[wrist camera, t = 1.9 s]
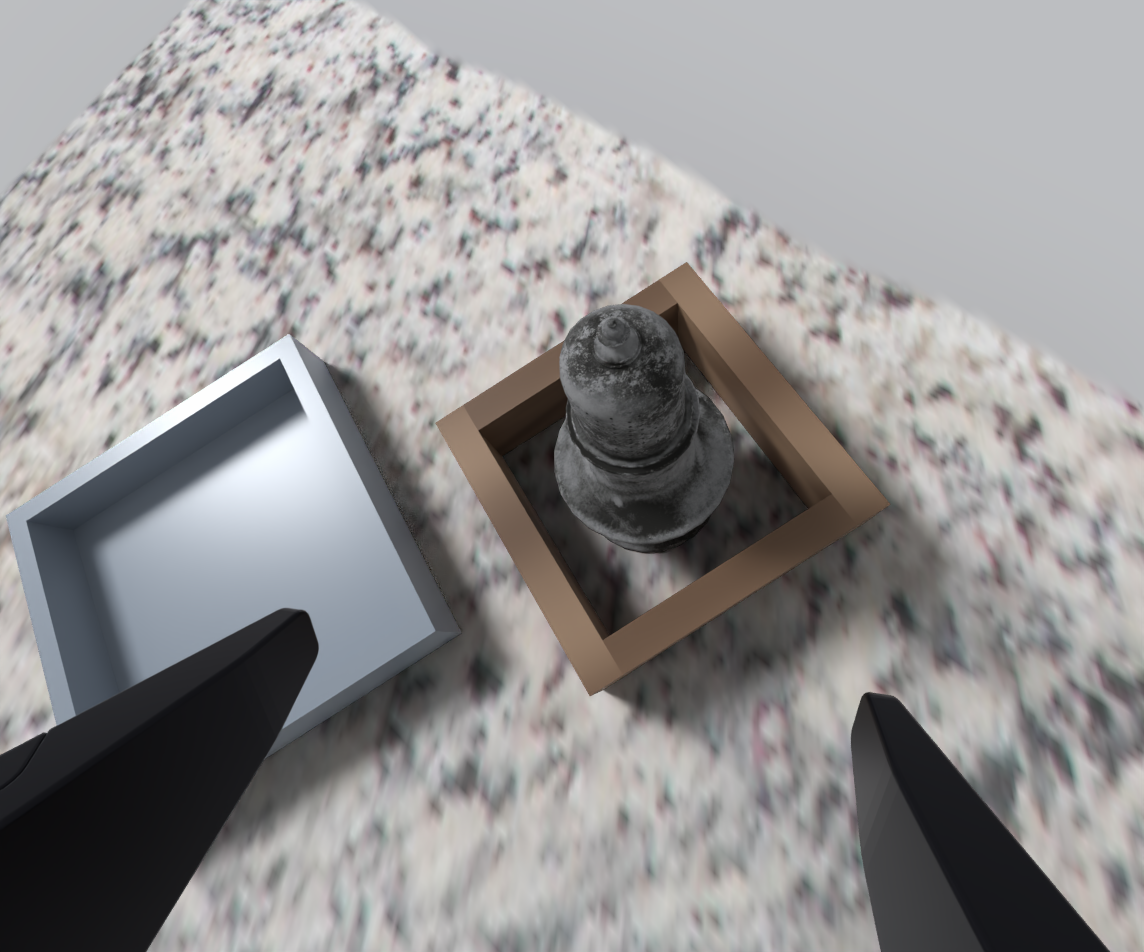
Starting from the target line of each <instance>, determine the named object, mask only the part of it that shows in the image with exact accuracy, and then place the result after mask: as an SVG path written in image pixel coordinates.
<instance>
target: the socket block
mask: <svg viewBox="0 0 1144 952" xmlns="http://www.w3.org/2000/svg"><path fill="white" fill-rule="evenodd" d="M622 304H628V305H636V306H641V307H643V308H646V309H648V310H651V311H654V312H655V313H656V314H658V315H659V316H660V317H662V318H663V319H665V320H666V321H667V323H668V324H669V325H670V326H671V328H672V329H673V330H674V331H675V333H676V335H677V337H678V339H679V341H680V344H681V346H682V348H683V350H684V351H685V352H686V353H687V355H688V356H689V357H690V359H691V360H692V361H693V362H694V364H695V365H696V366H697V368H698V369H699V370H700V371H701V373H702V374H703V375H704V376H705V378H706V379H707V380H708V382H709V383H710V384H711V385H712V387H713V388H714V389H715V391H716V392H717V393H718V394H719V396H720V397H721V398H722V399H723V401H724V402H725V403H726V405H727V406H728V407H729V408H730V410H731V411H732V412H733V413H734V415H735V416H736V417H737V419H738V420H739V421H740V422H741V424H742V425H743V426H744V428H745V429H746V430H747V431H748V433H749V434H750V435H751V436H752V438H753V439H754V440H755V442H756V443H757V444H758V445H759V447H760V448H761V449H762V451H763V452H764V453H765V454H766V456H767V457H768V458H769V459H770V461H771V462H772V463H773V465H774V466H775V467H776V468H777V470H778V471H779V472H780V473H781V475H782V476H783V477H784V479H785V480H786V481H787V482H788V484H789V485H790V486H791V488H792V489H793V490H794V491H795V493H796V494H797V495H798V496H799V498H800V499H801V500H802V502H803V503H804V504H805V505H806V507H807V508H808V509H807V510H806V511H804V512H803V513H801V514H799V515H798V516H796V517H795V518H793V519H792V520H790V521H789V522H787V523H785V524H784V525H782V526H781V527H779V528H778V529H776V530H774V531H773V532H771V533H770V534H768V535H767V536H765V537H763V538H762V539H760V540H759V541H757V542H756V543H754V544H753V545H751V546H749V547H748V548H746V549H745V550H743V551H742V552H740V553H738V554H737V555H735V556H734V557H732V558H731V559H729V560H727V561H726V562H724V563H723V564H721V565H720V566H718V567H717V568H715V569H713V570H712V571H710V572H709V573H707V574H706V575H704V576H702V577H701V578H699V579H698V580H696V581H695V582H693V583H691V584H690V585H688V586H687V587H685V588H684V589H682V590H681V591H679V592H677V593H676V594H674V595H673V596H671V597H670V598H668V599H666V600H665V601H663V602H662V603H660V604H659V605H657V606H655V607H654V608H652V609H651V610H649V611H648V612H646V613H645V614H643V615H641V616H640V617H638V618H637V619H635V620H634V621H632V622H630V623H629V624H627V625H626V626H624V627H623V628H621V629H619V630H618V631H616V632H615V633H613V634H612V635H609V634H608V632H607V630H606V629H605V627H604V625H603V624H602V622H601V620H600V619H599V617H598V615H597V614H596V612H595V610H594V609H593V607H592V605H591V604H590V602H589V600H588V599H587V597H586V595H585V594H584V592H583V590H582V589H581V587H580V585H579V584H578V582H577V580H576V579H575V577H574V575H573V574H572V572H571V570H570V569H569V567H568V565H567V564H566V562H565V560H564V559H563V557H562V555H561V554H560V552H559V550H558V549H557V547H556V545H555V544H554V542H553V540H552V539H551V537H550V535H549V534H548V532H547V530H546V528H545V527H544V525H543V523H542V522H541V520H540V518H539V517H538V515H537V513H536V512H535V510H534V508H533V507H532V505H531V503H530V502H529V500H528V498H527V497H526V495H525V493H524V492H523V490H522V488H521V487H520V485H519V483H518V482H517V480H516V478H515V477H514V475H513V473H512V472H511V470H510V468H509V467H508V465H507V463H506V462H505V460H504V458H503V457H502V456H503V455H505V454H506V453H508V452H510V451H511V450H513V449H514V448H516V447H517V446H519V445H521V444H522V443H524V442H525V441H527V440H528V439H530V438H531V437H533V436H535V435H536V434H538V433H539V432H541V431H542V430H544V429H546V428H547V427H549V426H550V425H552V424H553V423H555V422H556V421H558V420H560V419H561V418H563V417H564V416H566V405H567V401H568V398H567V396H566V394H565V392H564V389H563V385H562V382H561V379H560V365H559V361H560V353H561V349H562V345H563V342H564V341H563V342H561V343H560V344H558V345H556V346H555V347H553V348H552V349H550V350H549V351H547V352H545V353H544V354H542V355H541V356H539V357H538V358H536V359H535V360H533V361H531V362H530V363H528V364H527V365H525V366H524V367H522V368H521V369H519V370H517V371H516V372H514V373H513V374H511V375H510V376H508V377H506V378H505V379H503V380H502V381H500V382H499V383H497V384H496V385H494V386H492V387H491V388H489V389H488V390H486V391H485V392H483V393H481V394H480V395H478V396H477V397H475V398H474V399H472V400H471V401H469V402H467V403H466V404H464V405H463V406H461V407H460V408H458V409H456V410H455V411H453V412H452V413H450V414H449V415H447V416H446V417H444V418H442V419H441V420H439V421H438V422H436V425H437V427H438V428H439V430H440V432H441V434H442V435H443V437H444V439H445V441H446V442H447V444H448V446H449V448H450V450H451V451H452V453H453V455H454V457H455V458H456V460H457V462H458V464H459V466H460V467H461V469H462V471H463V473H464V474H465V476H466V478H467V480H468V481H469V483H470V485H471V487H472V489H473V490H474V492H475V494H476V496H477V497H478V499H479V501H480V503H481V504H482V506H483V508H484V510H485V512H486V513H487V515H488V517H489V519H490V520H491V522H492V524H493V526H494V527H495V529H496V531H497V533H498V535H499V536H500V538H501V540H502V542H503V543H504V545H505V547H506V549H507V550H508V552H509V554H510V556H511V558H512V559H513V561H514V563H515V565H516V566H517V568H518V570H519V572H520V573H521V575H522V577H523V579H524V581H525V582H526V584H527V586H528V588H529V589H530V591H531V593H532V595H533V596H534V598H535V600H536V602H537V604H538V605H539V607H540V609H541V611H542V612H543V614H544V616H545V618H546V619H547V621H548V623H549V625H550V627H551V628H552V630H553V632H554V634H555V635H556V637H557V639H558V641H559V642H560V644H561V646H562V648H563V650H564V651H565V653H566V655H567V657H568V658H569V660H570V662H571V664H572V665H573V667H574V669H575V671H576V673H577V674H578V676H579V678H580V680H581V681H582V683H583V685H584V687H585V688H586V690H587V692H588V694H589V696H592V695H594V694H596V693H598V692H600V691H602V690H604V689H605V688H607V687H608V686H610V685H612V684H613V683H615V682H616V681H618V680H619V679H621V678H623V677H624V676H626V675H627V674H629V673H630V672H632V671H634V670H635V669H637V668H638V667H640V666H641V665H643V664H645V663H646V662H648V661H649V660H651V659H652V658H654V657H655V656H657V655H659V654H660V653H662V652H663V651H665V650H666V649H668V648H670V647H671V646H673V645H674V644H676V643H677V642H679V641H681V640H682V639H684V638H685V637H687V636H688V635H690V634H691V633H693V632H695V631H696V630H698V629H699V628H701V627H702V626H704V625H706V624H707V623H709V622H710V621H712V620H713V619H715V618H717V617H718V616H720V615H721V614H723V613H724V612H726V611H728V610H729V609H731V608H732V607H734V606H735V605H737V604H738V603H740V602H742V601H743V600H745V599H746V598H748V597H749V596H751V595H753V594H754V593H756V592H757V591H759V590H760V589H762V588H764V587H765V586H767V585H768V584H770V583H771V582H773V581H774V580H776V579H778V578H779V577H781V576H782V575H784V574H785V573H787V572H789V571H790V570H792V569H793V568H795V567H796V566H798V565H800V564H801V563H803V562H804V561H806V560H807V559H809V558H811V557H812V556H814V555H815V554H817V553H818V552H820V551H821V550H823V549H825V548H826V547H828V546H829V545H831V544H832V543H834V542H836V541H837V540H839V539H840V538H842V537H843V536H845V535H847V534H848V533H850V532H851V531H853V530H854V529H856V528H857V527H859V526H861V525H862V524H864V523H865V522H866V521H868V520H869V519H871V518H872V517H873V516H875V515H876V514H878V513H879V512H880V511H882V510H883V509H885V508H886V507H888V506H889V505H890V503H889V502H888V501H887V500H886V498H885V497H884V496H883V495H882V494H881V492H880V491H879V490H878V489H877V488H876V486H875V485H874V484H873V483H872V482H871V480H870V479H869V478H868V477H867V476H866V475H865V473H864V472H863V471H862V470H861V469H860V467H859V466H858V465H857V464H856V463H855V461H854V460H853V459H852V458H851V457H850V456H849V454H848V453H847V452H846V451H845V450H844V448H843V447H842V446H841V445H840V444H839V442H838V441H837V440H836V439H835V438H834V437H833V435H832V434H831V433H830V432H829V431H828V429H827V428H826V427H825V426H824V425H823V423H822V422H821V421H820V420H819V419H818V417H817V416H816V415H815V414H814V413H813V412H812V410H811V409H810V408H809V407H808V406H807V404H806V403H805V402H804V401H803V400H802V398H801V397H800V396H799V395H798V394H797V393H796V391H795V390H794V389H793V388H792V387H791V385H790V384H789V383H788V382H787V381H786V379H785V378H784V377H783V376H782V375H781V374H780V372H779V371H778V370H777V369H776V368H775V366H774V365H773V364H772V363H771V362H770V360H769V359H768V358H767V357H766V356H765V354H764V353H763V352H762V351H761V350H760V349H759V347H758V346H757V345H756V344H755V343H754V341H753V340H752V339H751V338H750V337H749V335H748V334H747V333H746V332H745V331H744V330H743V328H742V327H741V326H740V325H739V324H738V322H737V321H736V320H735V319H734V318H733V316H732V315H731V314H730V313H729V312H728V311H727V309H726V308H725V307H724V306H723V305H722V303H721V302H720V301H719V300H718V299H717V297H716V296H715V295H714V294H713V293H712V291H711V290H710V289H709V288H708V287H707V286H706V284H705V283H704V282H703V281H702V280H701V278H700V277H699V276H698V275H697V274H696V272H695V271H694V270H693V269H692V268H691V267H690V265H689V264H688V263H687V262H686V263H684V264H683V265H681V266H680V267H678V268H677V269H675V270H674V271H672V272H670V273H669V274H667V275H666V276H664V277H663V278H661V279H659V280H658V281H656V282H655V283H653V284H652V285H650V286H649V287H647V288H645V289H644V290H642V291H641V292H639V293H638V294H636V295H635V296H633V297H631V298H630V299H628V300H627V301H625V302H624V303H622Z"/></svg>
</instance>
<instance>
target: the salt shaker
mask: <svg viewBox="0 0 1144 952" xmlns="http://www.w3.org/2000/svg"><path fill="white" fill-rule="evenodd" d="M559 365H560V379H561V382H562V385H563V389H564V392H565V394H566V396H567V398H568V401H567V405H566V419H565V421H564V423H563V425H562V427H561V428H560V430H559V434H558V438H557V442H556V446H555V450H554V473H555V476H556V480H557V483H558V487H559V490H560V493H561V495H562V497H563V498H564V500H565V502H566V503H567V505H568V506H569V508H570V510H571V511H572V513H573V514H574V515H575V516H576V517H577V518H578V519H580V520H581V521H582V522H583V523H584V524H585V525H586V526H587V527H588V528H589V529H591V530H593V531H595V532H597V533H599V534H601V535H603V536H604V537H605V538H607V539H608V540H609V541H611V542H613V543H615V544H617V545H619V546H621V547H623V548H625V549H630V550H635V551H639V552H657V551H664V550H667V549H670V548H673V547H676V546H679V545H681V544H683V543H684V542H686V541H687V540H689V539H690V538H692V537H693V536H695V535H696V534H697V533H698V532H699V531H700V529H701V528H702V527H703V526H704V525H705V524H706V523H707V522H708V520H709V518H710V516H711V513H712V512H713V511H714V510H715V509H716V508H717V507H718V505H719V504H720V502H721V500H722V498H723V496H724V494H725V492H726V490H727V488H728V486H729V484H730V480H731V475H732V469H733V464H734V453H733V443H732V436H731V434H730V431H729V429H728V426H727V424H726V421H725V419H724V416H723V415H722V414H721V412H720V411H719V410H718V408H717V407H716V406H715V405H714V403H713V402H712V401H711V399H710V398H709V397H707V396H706V395H705V394H703V393H702V392H701V391H699V390H698V389H697V388H695V387H694V385H693V382H692V381H691V380H690V378H689V377H688V376H687V374H686V373H685V360H684V351H683V349H682V346H681V344H680V341H679V339H678V337H677V335H676V333H675V331H674V330H673V329H672V328H671V326H670V325H669V324H668V323H667V321H666V320H665V319H663V318H662V317H660V316H659V315H658V314H656V313H655V312H654V311H651V310H648V309H646V308H643V307H641V306H636V305H628V304H619V305H610V306H606V307H603V308H600V309H597V310H595V311H593V312H591V313H589V314H588V315H586V316H585V317H583V318H582V319H580V320H579V321H578V322H577V323H576V325H575V326H574V327H573V328H572V329H571V330H570V331H569V333H568V335H567V337H566V339H565V340H564V342H563V345H562V349H561V353H560V361H559Z"/></svg>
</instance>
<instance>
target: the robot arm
mask: <svg viewBox="0 0 1144 952" xmlns="http://www.w3.org/2000/svg"><path fill="white" fill-rule="evenodd" d="M318 651H319V643H318V640H317V637H316V634H315V630H314V627H313V624H312V621H311V618H310V616H309V614H308V613H307V612H306V611H305V610H302V609H295V608H288V607H286V608H281V609H279V610H277V611H275V612H273V613H271V614H269V615H267V616H265V617H263V618H261V619H259V620H257V621H256V622H254V623H252V624H250V625H248V626H246V627H244V628H242V629H240V630H238V631H237V632H235V633H233V634H231V635H229V636H227V637H225V638H223V639H221V640H219V641H217V642H216V643H214V644H212V645H210V646H208V647H206V648H204V649H202V650H200V651H198V652H196V653H195V654H193V655H191V656H189V657H187V658H185V659H183V660H181V661H179V662H177V663H175V664H174V665H172V666H170V667H168V668H166V669H164V670H162V671H160V672H158V673H156V674H154V675H153V676H151V677H149V678H147V679H145V680H143V681H141V682H139V683H137V684H135V685H133V686H132V687H130V688H128V689H126V690H124V691H122V692H120V693H118V694H116V695H114V696H112V697H111V698H109V699H107V700H105V701H103V702H101V703H99V704H97V705H95V706H93V707H91V708H90V709H88V710H86V711H84V712H82V713H80V714H78V715H76V716H74V717H72V718H70V719H69V720H67V721H65V722H63V723H61V724H59V725H57V726H55V727H53V728H51V729H50V730H49V731H48V732H47V733H42V734H40V735H38V736H36V737H34V738H32V739H30V740H28V741H26V742H25V743H23V744H21V745H19V746H17V747H15V748H13V749H11V750H9V751H7V752H5V753H3V754H1V755H0V952H146V951H147V950H148V948H149V946H150V945H151V943H152V942H153V940H154V938H155V937H156V935H157V933H158V932H159V930H160V929H161V927H162V925H163V924H164V922H165V920H166V919H167V917H168V916H169V914H170V912H171V911H172V909H173V907H174V906H175V904H176V902H177V901H178V899H179V898H180V896H181V894H182V893H183V891H184V889H185V888H186V886H187V885H188V883H189V881H190V880H191V878H192V876H193V875H194V873H195V872H196V870H197V868H198V867H199V865H200V863H201V862H202V860H203V859H204V857H205V855H206V854H207V852H208V850H209V849H210V847H211V846H212V844H213V842H214V841H215V839H216V837H217V836H218V834H219V832H220V831H221V829H222V828H223V826H224V824H225V823H226V821H227V819H228V818H229V816H230V815H231V813H232V811H233V810H234V808H235V806H236V805H237V803H238V802H239V800H240V798H241V797H242V795H243V793H244V792H245V790H246V789H247V787H248V785H249V784H250V782H251V780H252V779H253V777H254V775H255V774H256V772H257V771H258V769H259V767H260V766H261V764H262V762H263V761H264V759H265V758H266V756H267V754H268V753H269V751H270V749H271V748H272V746H273V744H274V742H275V741H276V739H277V737H278V735H279V733H280V731H281V730H282V728H283V726H284V724H285V722H286V720H287V718H288V716H289V714H290V712H291V710H292V707H293V705H294V703H295V701H296V699H297V697H298V695H299V693H300V691H301V689H302V687H303V685H304V683H305V681H306V679H307V677H308V675H309V673H310V671H311V669H312V667H313V665H314V663H315V661H316V658H317V656H318ZM851 751H852V762H853V772H854V783H855V794H856V805H857V815H858V826H859V837H860V846H861V855H862V860H863V866H864V872H865V877H866V882H867V886H868V891H869V896H870V901H871V906H872V911H873V916H874V920H875V925H876V930H877V935H878V940H879V945H880V949H881V952H1110V951H1109V950H1108V949H1107V947H1106V946H1105V945H1104V944H1103V943H1102V941H1101V940H1100V939H1099V938H1098V937H1097V935H1096V934H1095V933H1094V932H1093V931H1092V929H1091V928H1090V927H1089V926H1088V925H1087V923H1086V922H1085V921H1084V920H1083V919H1082V918H1081V916H1080V915H1079V914H1078V913H1077V912H1076V910H1075V909H1074V908H1073V907H1072V906H1071V904H1070V903H1069V902H1068V901H1067V900H1066V898H1065V897H1064V896H1063V895H1062V894H1061V892H1060V891H1059V890H1058V889H1057V888H1056V886H1055V885H1054V884H1053V883H1052V882H1051V881H1050V879H1049V878H1048V877H1047V876H1046V875H1045V873H1044V872H1043V871H1042V870H1041V869H1040V867H1039V866H1038V865H1037V864H1036V863H1035V861H1034V860H1033V859H1032V858H1031V857H1030V855H1029V854H1028V853H1027V852H1026V851H1025V850H1024V848H1023V847H1022V846H1021V845H1020V844H1019V842H1018V841H1017V840H1016V839H1015V838H1014V836H1013V835H1012V834H1011V833H1010V832H1009V830H1008V829H1007V828H1006V827H1005V826H1004V824H1003V823H1002V822H1001V821H1000V820H999V819H998V817H997V816H996V815H995V814H994V813H993V811H992V810H991V809H990V808H989V807H988V805H987V804H986V803H985V802H984V801H983V799H982V798H981V797H980V796H979V795H978V793H977V792H976V791H975V790H974V789H973V787H972V786H971V785H970V784H969V783H968V782H967V780H966V779H965V778H964V777H963V776H962V774H961V773H960V772H959V771H958V770H957V768H956V767H955V766H954V765H953V764H952V762H951V761H950V760H949V759H948V758H947V756H946V755H945V754H944V753H943V752H942V751H941V749H940V748H939V747H938V746H937V745H936V743H935V742H934V741H933V740H932V739H931V737H930V736H929V735H928V734H927V733H926V731H925V730H924V729H923V728H922V727H921V725H920V724H919V723H918V722H917V721H916V720H915V718H914V717H913V716H912V715H911V714H910V712H909V711H908V710H907V709H906V708H905V706H904V705H903V704H902V703H901V702H900V701H899V700H898V699H897V698H896V697H894V696H891V695H885V694H878V693H871V692H867V693H865V694H864V695H863V696H862V698H861V700H860V704H859V707H858V710H857V714H856V717H855V721H854V724H853V727H852V732H851Z"/></svg>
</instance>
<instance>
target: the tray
mask: <svg viewBox="0 0 1144 952" xmlns="http://www.w3.org/2000/svg"><path fill="white" fill-rule="evenodd" d="M6 518H7V522H8V526H9V530H10V535H11V539H12V543H13V547H14V551H15V555H16V559H17V563H18V568H19V572H20V576H21V580H22V584H23V588H24V592H25V596H26V601H27V605H28V609H29V613H30V617H31V621H32V625H33V629H34V634H35V638H36V642H37V646H38V650H39V654H40V658H41V662H42V667H43V671H44V675H45V679H46V683H47V687H48V691H49V695H50V700H51V704H52V708H53V712H54V716H55V720H56V724H57V725H59V724H61V723H63V722H65V721H67V720H69V719H70V718H72V717H74V716H76V715H78V714H80V713H82V712H84V711H86V710H88V709H90V708H91V707H93V706H95V705H97V704H99V703H101V702H103V701H105V700H107V699H109V698H111V697H112V696H114V695H116V694H118V693H120V692H122V691H124V690H126V689H128V688H130V687H132V686H133V685H135V684H137V683H139V682H141V681H143V680H145V679H147V678H149V677H151V676H153V675H154V674H156V673H158V672H160V671H162V670H164V669H166V668H168V667H170V666H172V665H174V664H175V663H177V662H179V661H181V660H183V659H185V658H187V657H189V656H191V655H193V654H195V653H196V652H198V651H200V650H202V649H204V648H206V647H208V646H210V645H212V644H214V643H216V642H217V641H219V640H221V639H223V638H225V637H227V636H229V635H231V634H233V633H235V632H237V631H238V630H240V629H242V628H244V627H246V626H248V625H250V624H252V623H254V622H256V621H257V620H259V619H261V618H263V617H265V616H267V615H269V614H271V613H273V612H275V611H277V610H279V609H281V608H286V607H288V608H295V609H302V610H305V611H306V612H307V613H308V614H309V616H310V618H311V621H312V624H313V627H314V630H315V634H316V637H317V640H318V643H319V651H318V656H317V658H316V661H315V663H314V665H313V667H312V669H311V671H310V673H309V675H308V677H307V679H306V681H305V683H304V685H303V687H302V689H301V691H300V693H299V695H298V697H297V699H296V701H295V703H294V705H293V707H292V710H291V712H290V714H289V716H288V718H287V720H286V722H285V724H284V726H283V728H282V730H281V731H280V733H279V735H278V737H277V739H276V741H275V742H274V744H273V746H272V748H271V749H270V751H269V753H268V754H267V756H266V758H267V757H269V756H270V755H272V754H273V753H275V752H276V751H278V750H280V749H281V748H283V747H284V746H286V745H287V744H289V743H291V742H292V741H294V740H295V739H297V738H298V737H300V736H302V735H303V734H305V733H306V732H308V731H309V730H311V729H312V728H314V727H316V726H317V725H319V724H320V723H322V722H323V721H325V720H327V719H328V718H330V717H331V716H333V715H334V714H336V713H337V712H339V711H341V710H342V709H344V708H345V707H347V706H348V705H350V704H352V703H353V702H355V701H356V700H358V699H359V698H361V697H363V696H364V695H366V694H367V693H369V692H370V691H372V690H373V689H375V688H377V687H378V686H380V685H381V684H383V683H384V682H386V681H388V680H389V679H391V678H392V677H394V676H395V675H397V674H399V673H400V672H402V671H403V670H405V669H406V668H408V667H409V666H411V665H413V664H414V663H416V662H417V661H419V660H420V659H422V658H424V657H425V656H427V655H428V654H430V653H431V652H433V651H434V650H436V649H438V648H439V647H441V646H442V645H444V644H445V643H447V642H449V641H450V640H452V639H453V638H455V637H456V636H458V635H460V634H461V631H460V629H459V627H458V625H457V623H456V621H455V619H454V617H453V615H452V613H451V611H450V609H449V607H448V605H447V603H446V601H445V599H444V597H443V595H442V593H441V591H440V589H439V588H438V586H437V584H436V582H435V580H434V578H433V576H432V574H431V572H430V570H429V568H428V566H427V564H426V562H425V560H424V558H423V556H422V554H421V552H420V550H419V548H418V546H417V544H416V542H415V540H414V538H413V536H412V534H411V532H410V530H409V528H408V526H407V524H406V523H405V521H404V519H403V517H402V515H401V513H400V511H399V509H398V507H397V505H396V503H395V501H394V499H393V497H392V495H391V493H390V491H389V489H388V487H387V485H386V483H385V481H384V479H383V477H382V475H381V473H380V471H379V469H378V467H377V465H376V463H375V461H374V459H373V457H372V456H371V454H370V452H369V450H368V448H367V446H366V444H365V442H364V440H363V438H362V436H361V434H360V432H359V430H358V428H357V426H356V424H355V422H354V420H353V418H352V416H351V414H350V412H349V410H348V408H347V406H346V404H345V402H344V400H343V398H342V396H341V394H340V392H339V391H338V389H337V387H336V385H335V383H334V381H333V379H332V377H331V375H330V373H329V371H328V369H327V367H326V365H325V363H324V361H323V360H321V359H320V358H319V357H318V356H316V355H315V354H314V353H313V352H311V351H310V350H309V349H308V348H306V347H305V346H304V345H303V344H301V343H300V342H299V341H298V340H296V339H295V338H294V337H293V336H291V335H290V334H288V335H287V336H285V337H284V338H282V339H281V340H279V341H277V342H276V343H274V344H273V345H271V346H270V347H268V348H266V349H265V350H263V351H262V352H260V353H259V354H257V355H256V356H254V357H252V358H251V359H249V360H248V361H246V362H245V363H243V364H242V365H240V366H238V367H237V368H235V369H234V370H232V371H231V372H229V373H227V374H226V375H224V376H223V377H221V378H220V379H218V380H217V381H215V382H213V383H212V384H210V385H209V386H207V387H206V388H204V389H203V390H201V391H199V392H198V393H196V394H195V395H193V396H192V397H190V398H188V399H187V400H185V401H184V402H182V403H181V404H179V405H178V406H176V407H174V408H173V409H171V410H170V411H168V412H167V413H165V414H164V415H162V416H160V417H159V418H157V419H156V420H154V421H153V422H151V423H150V424H148V425H146V426H145V427H143V428H142V429H140V430H139V431H137V432H135V433H134V434H132V435H131V436H129V437H128V438H126V439H125V440H123V441H121V442H120V443H118V444H117V445H115V446H114V447H112V448H111V449H109V450H107V451H106V452H104V453H103V454H101V455H100V456H98V457H96V458H95V459H93V460H92V461H90V462H89V463H87V464H86V465H84V466H82V467H81V468H79V469H78V470H76V471H75V472H73V473H72V474H70V475H68V476H67V477H65V478H64V479H62V480H61V481H59V482H57V483H56V484H54V485H53V486H51V487H50V488H48V489H47V490H45V491H43V492H42V493H40V494H39V495H37V496H36V497H34V498H33V499H31V500H29V501H28V502H26V503H25V504H23V505H22V506H20V507H18V508H17V509H15V510H14V511H12V512H11V513H9V514H8V515H6ZM266 758H265V759H266Z"/></svg>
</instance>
